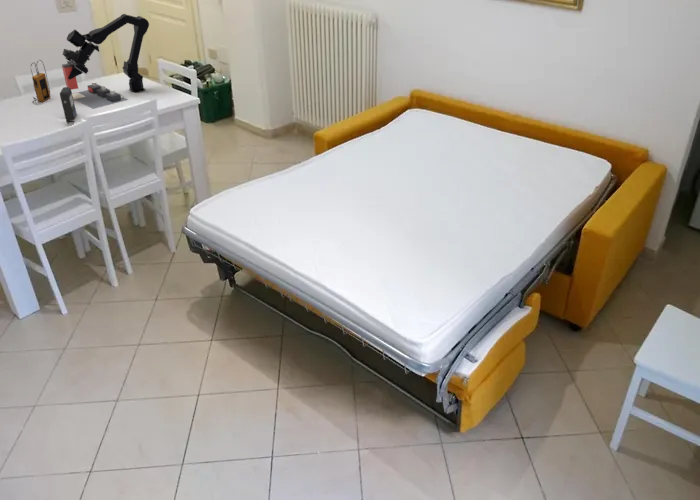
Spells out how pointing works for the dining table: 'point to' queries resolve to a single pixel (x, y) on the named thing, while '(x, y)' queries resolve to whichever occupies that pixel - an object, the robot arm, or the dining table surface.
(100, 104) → the breaker panel
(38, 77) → the multimeter
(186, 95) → the dining table surface
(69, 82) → the block
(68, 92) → the card reader
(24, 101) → the dining table surface
